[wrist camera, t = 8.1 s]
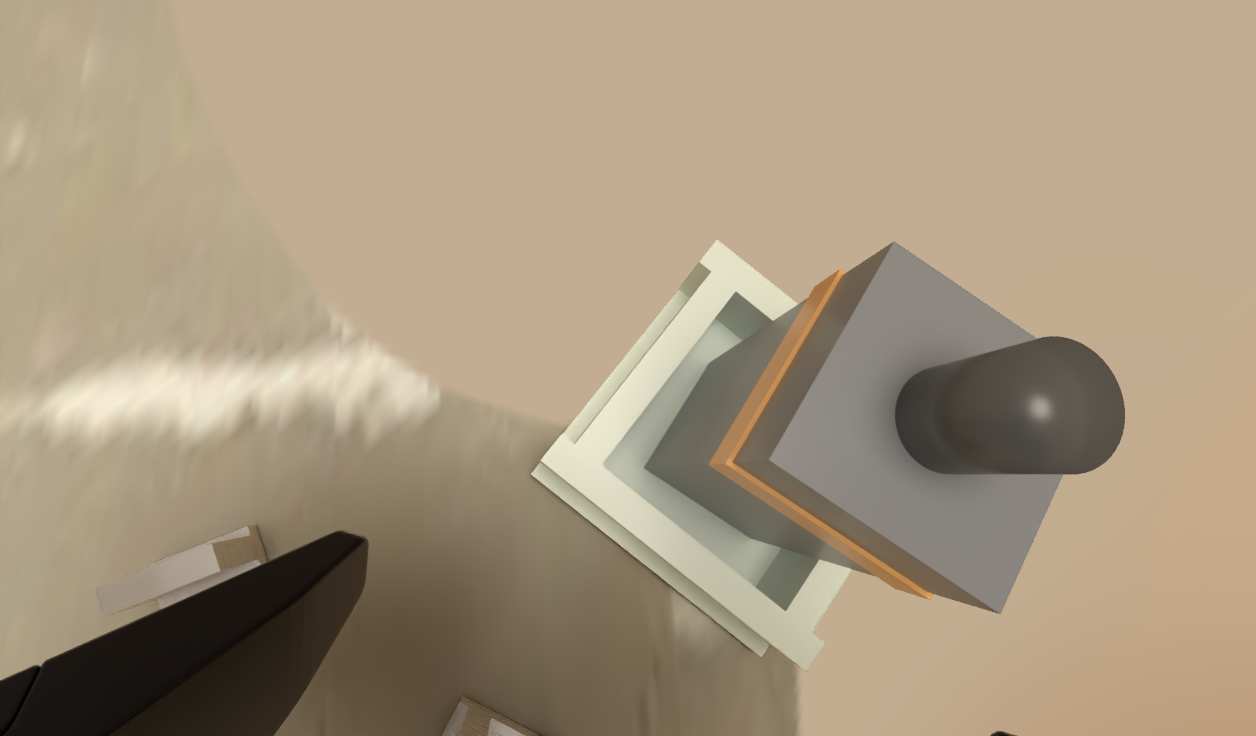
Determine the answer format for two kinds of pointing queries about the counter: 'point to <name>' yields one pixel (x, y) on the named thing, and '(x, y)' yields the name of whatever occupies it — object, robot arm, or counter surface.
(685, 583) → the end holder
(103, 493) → the counter surface
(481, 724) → the clip
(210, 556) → the clip
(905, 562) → the grey square bottle
